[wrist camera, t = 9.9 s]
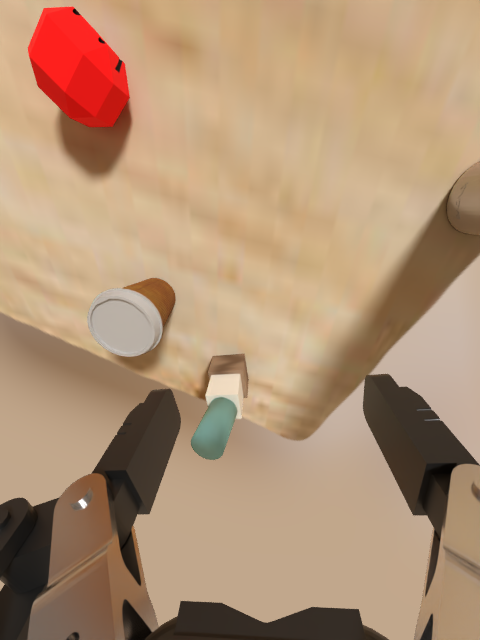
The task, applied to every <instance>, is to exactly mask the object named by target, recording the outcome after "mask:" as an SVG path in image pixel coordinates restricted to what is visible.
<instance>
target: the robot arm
mask: <svg viewBox="0 0 480 640" xmlns="http://www.w3.org/2000/svg"><path fill="white" fill-rule="evenodd" d="M447 215H448V219H449V221H450V223H451V224H452V226H453V227H454V228H455V229H457V230H458V231H460V232H463V233H467V234H475V235H480V161H479V162H478V163H476V164H474V165H473V166H472V167H470V168H469V169H468V170H467V171H466V172H465V173H464V174H463V175H462V176H461V177H460V178H459V179H458V181H457V182H456V184H455V185H454V187H453V189H452V191H451V193H450V195H449V199H448V202H447ZM363 411H364V415H365V418H366V421H367V423H368V425H369V427H370V429H371V431H372V433H373V435H374V437H375V439H376V441H377V443H378V445H379V447H380V449H381V451H382V453H383V455H384V457H385V459H386V461H387V463H388V465H389V467H390V469H391V471H392V473H393V475H394V477H395V480H396V481H397V483H398V486H399V487H400V490H401V491H402V494H403V496H404V497H405V500H406V502H407V503H408V506H409V508H410V510H411V512H412V514H413V515H427V516H428V518H429V520H430V521H431V523H432V525H433V527H434V528H433V532H432V538H431V544H430V551H429V557H428V564H427V571H426V577H425V584H424V590H423V597H422V603H421V607H420V612H419V616H418V620H417V625H416V630H415V636H414V640H480V465H479V464H478V463H477V462H476V460H475V459H474V458H473V457H472V456H471V454H470V453H469V452H468V451H467V450H466V449H465V447H464V446H463V445H462V444H461V443H460V442H459V440H458V439H457V438H456V437H455V436H454V434H453V433H452V432H451V431H450V430H449V429H448V427H447V426H446V425H445V424H444V423H443V422H442V421H440V418H439V417H438V416H437V414H436V413H435V412H434V411H432V410H431V407H429V405H428V404H427V403H426V402H425V400H424V399H423V398H422V397H421V396H420V395H418V394H417V393H415V392H414V391H412V390H411V389H409V388H408V387H399V386H398V385H397V384H396V382H395V381H394V380H393V378H392V377H391V376H390V375H389V374H381V375H380V374H379V375H367V376H366V378H365V386H364V401H363ZM180 423H181V418H180V413H179V410H178V407H177V404H176V402H175V398H174V396H173V393H172V391H171V389H160V390H152V391H151V392H150V394H149V395H148V397H147V398H146V400H145V402H144V403H140V404H139V405H138V406H137V407H135V408H134V409H133V410H132V411H131V412H130V414H129V415H128V416H127V418H126V420H125V421H124V423H123V426H121V428H120V429H119V431H118V432H117V435H116V436H115V437H114V439H113V440H112V442H111V443H110V445H109V447H108V448H107V450H106V451H105V453H104V455H103V456H102V458H101V459H100V461H99V463H98V464H97V466H96V467H95V469H94V471H93V472H92V473H91V474H88V475H86V476H84V477H82V478H80V479H78V480H77V481H75V482H74V483H72V484H71V485H70V486H69V487H68V488H67V489H66V490H65V491H64V492H63V494H62V495H61V496H60V497H59V498H57V499H54V500H51V501H48V502H46V503H42V504H39V505H36V506H34V507H32V506H31V505H30V503H29V502H28V501H27V500H26V499H24V498H15V499H12V500H9V501H7V502H5V503H3V504H1V505H0V580H1V581H2V582H3V583H4V584H5V585H4V586H3V588H2V590H1V591H0V640H388V639H387V638H386V637H384V636H383V635H381V634H379V633H378V632H376V631H375V630H373V629H371V628H369V627H367V626H364V625H362V621H361V617H360V613H359V609H340V608H319V607H311V608H308V609H306V610H303V611H300V612H298V613H294V614H292V615H289V616H286V617H283V618H281V619H278V620H276V621H272V622H269V623H264V622H261V621H259V620H257V619H255V618H252V617H250V616H248V615H246V614H244V613H242V612H240V611H238V610H235V609H233V608H231V607H229V606H227V605H225V604H223V603H212V602H190V601H181V603H180V608H179V613H178V617H175V618H173V619H171V620H170V621H168V622H166V623H164V624H163V625H161V626H160V627H159V626H158V622H157V618H156V615H155V611H154V609H153V605H152V603H151V600H150V598H149V595H148V592H147V588H146V583H145V578H144V573H143V568H142V564H141V558H140V553H139V548H138V543H137V538H136V533H135V529H134V526H133V524H134V521H135V519H136V516H137V514H150V511H151V508H152V505H153V503H154V500H155V497H156V494H157V491H158V488H159V486H160V483H161V480H162V477H163V475H164V472H165V469H166V466H167V463H168V460H169V458H170V455H171V452H172V449H173V446H174V444H175V441H176V438H177V435H178V432H179V429H180Z"/></svg>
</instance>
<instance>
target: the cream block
mask: <svg viewBox="0 0 480 640" xmlns="http://www.w3.org/2000/svg"><path fill="white" fill-rule="evenodd" d="M205 396H206V401H207V405H208V407H209V405H210V403H211V401H212V400H213V399H215V398H217V397H224V398H227V399H229V400H231V401H232V402H233V403H234V404H235V405H236V407H237V416H236V418H235V419H242V408H243V390H242V382H241V375H240V374H222V375H211V378H210V381H209V385H208V388H207V392H206V395H205Z"/></svg>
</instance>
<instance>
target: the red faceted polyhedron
mask: <svg viewBox="0 0 480 640" xmlns="http://www.w3.org/2000/svg"><path fill="white" fill-rule="evenodd" d="M28 52H29V57H30V61H31V64H32V68H33V71H34V74H35V78H36V81H37V85H38V87H39V88H40V89H41V90H42V91H43V92H44V93H45V94H46V95H47V96H48V97H49V98H50V99H51V100H52V101H53V102H54V103H55V104H56V105H57V106H58V107H59V108H60V109H61V110H62V111H63V112H64V113H65V114H66V115H67V116H68V117H69V118H71V119H73V120H75V121H77V122H80V123H82V124H84V125H86V126H88V127H113V125H114V123H115V122H116V120H117V118H118V116H119V115H120V113H121V111H122V110H123V108H124V106H125V105H126V103H127V101H128V99H129V98H130V97H129V90H128V83H127V76H126V70H125V64H124V62H123V61H122V60H120V59H119V57H118V56H117V55H116V54H115V52H114V51H113V50H112V49H111V48H110V47H109V46H108V44H107V43H106V42H105V41H104V40H103V39H102V38H101V37H100V35H99V34H98V33H97V32H96V31H95V30H94V29H93V28H92V27H91V25H90V24H89V23H88V22H87V21H86V20H85V19H84V18H83V17H82V16H81V15H80V14H79V12H78V11H77V10H76V9H75V8H74V7H58V8H44V9H43V12H42V14H41V17H40V19H39V22H38V24H37V27H36V29H35V32H34V34H33V37H32V39H31V42H30V44H29V47H28Z"/></svg>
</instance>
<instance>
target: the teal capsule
mask: <svg viewBox="0 0 480 640" xmlns="http://www.w3.org/2000/svg"><path fill="white" fill-rule="evenodd" d="M236 416H237V407H236V405H235V404H234V403H233V402H232V401H231V400H229V399H227V398H224V397H217V398H215V399H213V400H212V401H211V403H210V405H209V407H208V409H207V411H206V412H205V414H204V416H203V418H202V420H201V422H200V424H199V426H198V428H197V430H196V432H195V433H194V436H193V437H192V439H191V446H192V448H193V450H194V451H195V452H196V453H197V454H198V455H199V456H201V457H203V458H205V459H210V460H215V459H218V458H220V457H221V456H222V455H223V452H224V449H225V446H226V443H227V441H228V438H229V435H230V432H231V430H232V427H233V424H234V421H235V418H236Z"/></svg>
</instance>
